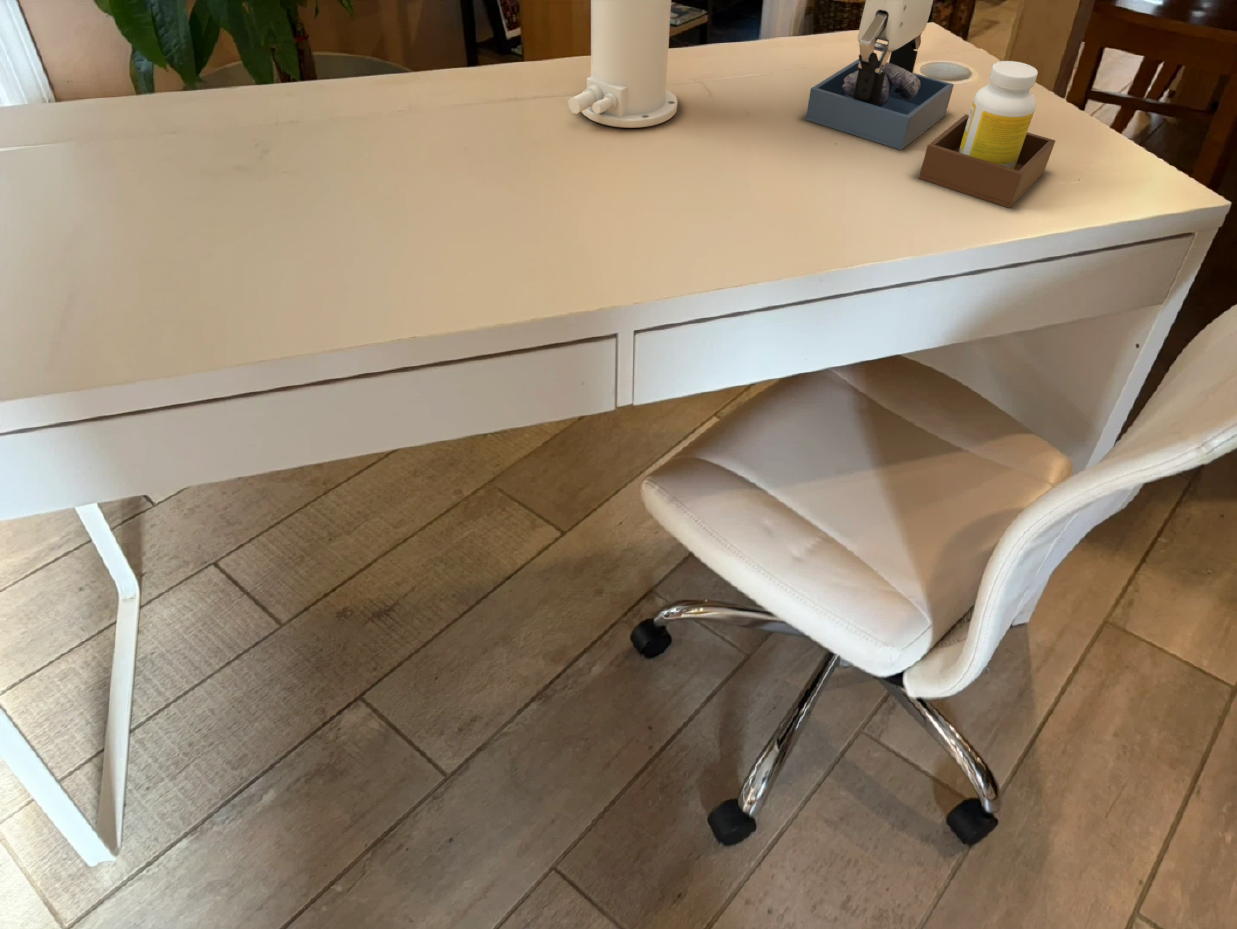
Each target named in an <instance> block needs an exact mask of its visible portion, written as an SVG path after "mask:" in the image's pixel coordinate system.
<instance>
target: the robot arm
mask: <svg viewBox="0 0 1237 929" xmlns="http://www.w3.org/2000/svg"><path fill="white" fill-rule="evenodd" d="M933 2H934V0H865V2H864V7H863V11H862V15H861V20H860V24H859V28H858V33H857V42H858V43H859V45H858V46H859V54H858V59H859V64H858V69H859V71H858V76H857V81H856V86H855V91H854V96H853V99H855V100H859V101H862V102H865V103H869V104H872V105H875V106H877V105H878V104H879V100H880V95H881V91H882V86H883V82H884V77H885V73H884V72H882V71H883V69H884V66H885V64H886V63H887V62H888V63H892V64H894V65H897V66H899V67H900V68H904V69H905V70H907V71H909V72H911V73H912V74H913V73H914V69H915V65H916V61H917V58H918V57H917V56H918V53H919V51H918V50H919V49H920V47H921V43H922V34H923V32H924V31H925V29H926V28H927V25H928V21H929V19H930V18H929V17H930V15H931V11H932V8H933ZM671 11H672V0H590V76H588V77H587V78H586V88H584V90H583V91H581V93H579V94H577V95H576V94H575V96H572V97H571V98H569V99H568V101H567V107H568V109H569V111H570V112H571V113H572V114H573V115H576V114H577V115H578V114H580V113H582V114H583V115H584V116H585V117H586V118H588V119H589V120H591V121H593V122H595V123H598V124H601V125H604V126H609V127H615V128H623V129H624V128H628V129H635V128H647V127H652V126H656V125H659V124H662V123H665V122H666V121H668V120H671V119H672V117H674V116H675V115H676V113H677V111H678V98H677V96H676V95H675V93H673V91H671V90H670V89H668V88H667V80H668V79H667V78H668V65H669V64H668V63H669V46H670V45H669V44H670V29H671ZM878 40H879V41H884V42H886V43H887V44H885V43H882V42H878ZM874 51H877V52H881V54H880V57H879V56H878V54H877V53H876V52H874ZM878 57H879V58H878Z"/></svg>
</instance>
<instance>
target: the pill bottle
mask: <svg viewBox="0 0 1237 929" xmlns="http://www.w3.org/2000/svg"><path fill="white" fill-rule="evenodd" d="M1038 74H1039V72H1038V69H1036V68H1035V67H1034V66H1032V65H1030V64H1028V63H1024V62H1021V61H1014V60H1001V61H996V62H995V63H993V65H992V67H991V70H990V72H989V76H988V80H989V81H988V82H989V83H988V84H987V85H984V86H983V87H981V88H980V89H979V90H978V91H977V92H976V94H975V95H974V97H973V100H972V103H971V108H970V111H969V114H968V115H969V118H968V121H967V124H966V128H965V131H964V135H963V138H962V142H961V145H960V149H959V153H962V154H966V155H969V156H972V157H975V158H979V159H982V160H985V161H988V162H991V163H995V164H998V165H1001V166H1004V167H1008V168H1011V169H1015V166H1016V163H1017V160H1018V157H1019V154H1020V151H1021V149H1022V146H1023V143H1024V140H1025V137H1026V134H1027V132H1028V131H1029V128H1030V125H1031V122H1032V119H1033V116H1034V114H1035V110H1036V108H1037V101H1036V98H1035V96H1034V95H1033V93H1032V92H1031V91H1030V90H1031V89H1032V88H1033V87H1034V86H1035V84H1036V81H1037V77H1038Z"/></svg>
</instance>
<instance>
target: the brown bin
mask: <svg viewBox="0 0 1237 929" xmlns="http://www.w3.org/2000/svg"><path fill="white" fill-rule="evenodd" d="M968 118H969V114H964V115H963V116H962V117H960V118H959V119H958V120H957V121H955V122H954V123H953V124H952V125H950V126H949V127H948V128H947V129H946V130H944V131H943V132H942V133H940V134H939V135H938V136H937V137H936V138H935V139H933V140H932V141H930V142H929V143H928V145H927V146H926V150H925V154H924V156H923V161H922V165H921V169H920V172H919V176H918V179H920V180H923V181H926V182H928V183H933V184H934V185H935V184H936V185H939V186H940V187H941V186H942V187H944V188H948V189H950V190H953V191H957V192H958V193H963V194H964V195H965V194H966V195H969V196H972V197H975V198H978V199H981V200H983V201H987V202H990V203H993V204H996V205H999V206H1002V207H1005V208H1008V209H1011V208H1012V207H1013V206H1014V205H1015V204H1016V203H1017V201H1018V200H1019V199H1020V198H1021V197H1022V196H1023V195H1024V194H1025V193H1026V192H1027V191H1028V190H1029V189H1030V188H1031V187H1032V186H1033V185H1034V184H1035V183H1036V181H1038V179H1039V178H1041V177H1042V175H1044V173H1045V171H1046V168H1047V164H1048V163H1049V160H1050V157H1051V154H1052V152H1053V149H1054V146H1055V144H1056V140H1055V139H1052V138H1048V137H1045V136H1042V135H1038V134H1035V133H1032V132H1028V131H1027V134H1026V137H1025V140H1024V143H1023V146H1022V149H1021V151H1020V154H1019V157H1018V160H1017V163H1016V166H1015V169H1011V168H1008V167H1004V166H1001V165H998V164H995V163H991V162H988V161H985V160H982V159H979V158H975V157H972V156H969V155H966V154H962V153H959V149H960V145H961V142H962V138H963V135H964V131H965V128H966V124H967V121H968Z"/></svg>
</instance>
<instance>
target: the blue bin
mask: <svg viewBox="0 0 1237 929" xmlns="http://www.w3.org/2000/svg"><path fill="white" fill-rule="evenodd" d="M858 64H859V58H857V59H855V60H854V61H853V62H851V63H849V64H848V65H846V66H844V67H843V68H842V69H840V70H838V71H837V72H835V73H833V74H832V75H830V76H828V77H827V78H825V79H823V80H822V81H820V82H819V83H817V84H815V85H814V86H812V87H810V91H809V97H808V103H807V109H806V115H805V120H806V121H808V122H812V123H815V124H817V125H821V126H825V127H827V128H831V129H833V130H836V131H840V132H843V133H846V134H850V135H852V136H856V137H858V138H861V139H865V140H867V141H872V142H875V143H878V144H881V145H884V146H887V147H890V148H893V149H897V150H900V151H902V150H904V148H906V147H907V146H908V145H910V144H911V143H912V142H913V141H915V140H916V139H917V138H919V137H920V136H921V135H922V134H924V133H925V132H926V131H927V130H928V129H930V128H931V127H932V126H934V125H935V124H936V123H937V122H939V121H940V120H941V119H942V118H944V117H945V116H946V115H947V111H948V108H949V105H950V104H949V103H950V100H951V96H952V93H953V90H954V85H955V84H954V83H952V82H948V81H944V80H940V79H937V78H933V77H930V76H927V75H923V74H918V73H916V72H913V74H914V75H915V76H917V78H918V79H919V80H920V83H921V84H920V85H921V87H920V88H919V90H918V93H917V94H916V95H915V97H914V98H912V100H901V99H900V98H899V95H900V94H896V95H895V93H894V91H895V87H896V86H893V85H892V86H891V91H890V94H889V97H888V101H887V103H885V104H884V105H883V106H881V107H879V106H875V105H872V104H869V103H865V102H862V101H859V100H855V99H853V97H850V96H848V94H846V93H845V90H844V89H843V87H842V86H843V85H844V83H845V82H844V78H845V77H847V76H848V75H849V74H851V73H852V74H853V73H854V72H856V71H859V69H858Z"/></svg>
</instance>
